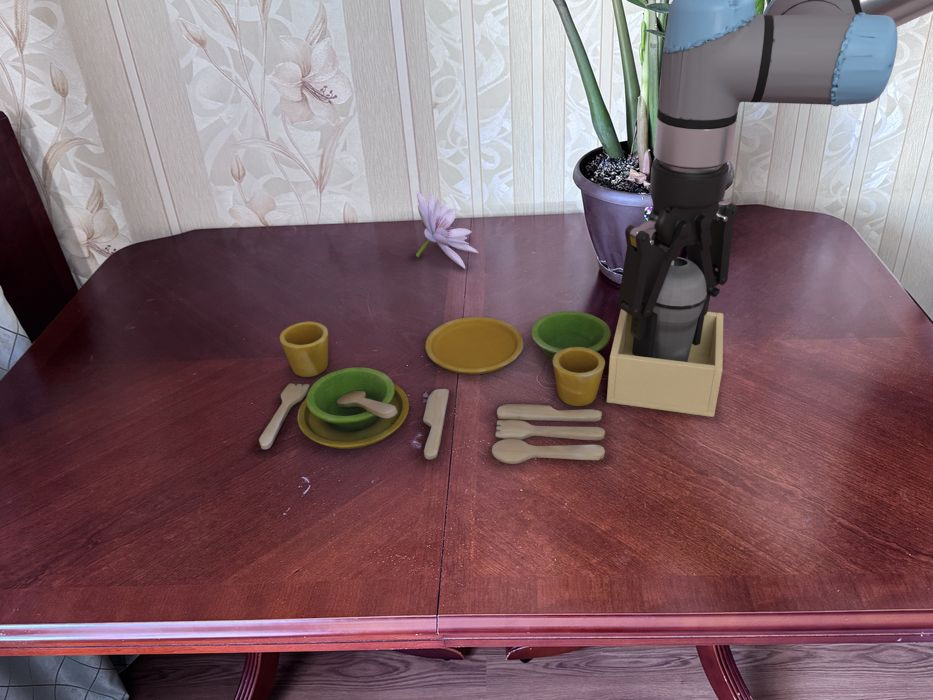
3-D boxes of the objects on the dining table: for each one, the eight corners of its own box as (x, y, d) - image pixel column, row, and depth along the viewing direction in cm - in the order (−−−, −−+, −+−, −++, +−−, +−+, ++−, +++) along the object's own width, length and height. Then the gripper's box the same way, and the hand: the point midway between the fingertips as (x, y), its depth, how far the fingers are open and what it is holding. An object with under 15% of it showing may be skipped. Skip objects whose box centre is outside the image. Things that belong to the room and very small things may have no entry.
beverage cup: (691, 397, 85) (716, 241, 74) (628, 387, 87) (642, 234, 76) (696, 362, 91) (720, 212, 79) (637, 354, 93) (651, 206, 82)
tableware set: (243, 454, 82) (230, 410, 78) (314, 322, 104) (306, 283, 101) (619, 469, 77) (623, 423, 73) (607, 327, 99) (609, 286, 96)
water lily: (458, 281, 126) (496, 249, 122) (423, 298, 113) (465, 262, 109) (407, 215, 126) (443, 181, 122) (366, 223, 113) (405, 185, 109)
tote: (715, 357, 92) (723, 313, 89) (713, 417, 83) (722, 370, 79) (618, 346, 96) (622, 302, 92) (606, 402, 86) (609, 356, 82)
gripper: (734, 131, 80) (705, 311, 93) (589, 169, 73) (579, 358, 86) (789, 150, 75) (750, 339, 88) (638, 193, 67) (620, 391, 80)
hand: (666, 348), depth 87 cm, fingers closed on beverage cup, 7 cm apart
